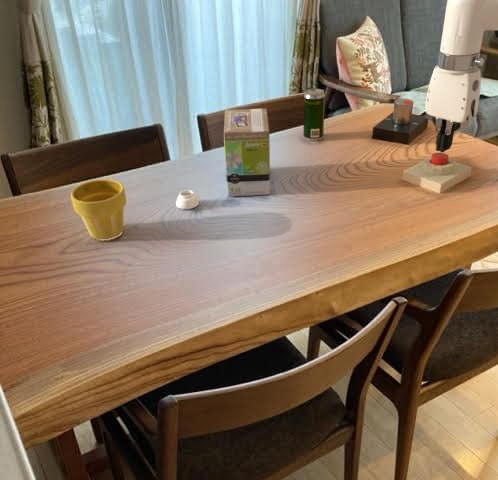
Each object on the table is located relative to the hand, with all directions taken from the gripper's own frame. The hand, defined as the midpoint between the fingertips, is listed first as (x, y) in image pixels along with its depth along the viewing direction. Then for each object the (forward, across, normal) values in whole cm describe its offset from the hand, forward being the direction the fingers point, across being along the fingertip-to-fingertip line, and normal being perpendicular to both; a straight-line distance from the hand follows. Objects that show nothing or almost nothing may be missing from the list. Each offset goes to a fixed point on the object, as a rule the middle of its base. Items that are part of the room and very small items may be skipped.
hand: (442, 149), depth 119 cm
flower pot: (+6, +33, +68) cm, 75 cm away
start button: (+3, 0, 0) cm, 3 cm away
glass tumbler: (+4, +23, -17) cm, 29 cm away
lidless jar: (+6, +31, +48) cm, 58 cm away
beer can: (+7, +38, +2) cm, 39 cm away
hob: (+7, +23, -16) cm, 29 cm away
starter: (+7, 0, 0) cm, 7 cm away
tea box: (+6, +30, +32) cm, 44 cm away
